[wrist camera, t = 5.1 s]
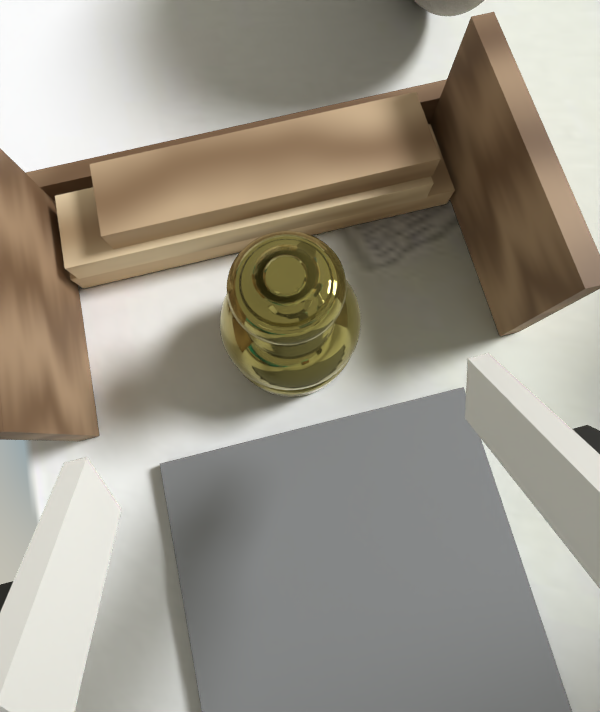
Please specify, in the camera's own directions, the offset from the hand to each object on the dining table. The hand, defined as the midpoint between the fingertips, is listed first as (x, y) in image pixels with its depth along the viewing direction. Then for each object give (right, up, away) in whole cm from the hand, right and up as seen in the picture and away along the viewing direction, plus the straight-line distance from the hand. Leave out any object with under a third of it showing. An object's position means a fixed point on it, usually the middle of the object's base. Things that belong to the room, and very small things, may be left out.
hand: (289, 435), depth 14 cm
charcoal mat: (+3, -10, +8) cm, 13 cm away
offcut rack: (-1, +9, +12) cm, 15 cm away
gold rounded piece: (0, +4, +12) cm, 12 cm away
